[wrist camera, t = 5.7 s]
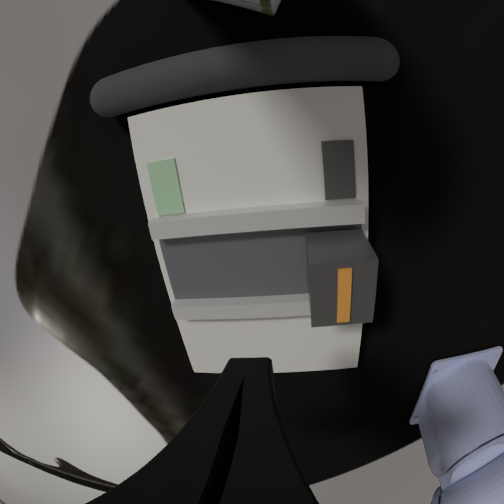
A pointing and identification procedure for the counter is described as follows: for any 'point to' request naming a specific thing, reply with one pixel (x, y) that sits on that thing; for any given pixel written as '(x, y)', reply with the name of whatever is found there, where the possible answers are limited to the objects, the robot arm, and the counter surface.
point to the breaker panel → (253, 218)
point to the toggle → (340, 277)
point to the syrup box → (255, 5)
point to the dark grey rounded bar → (245, 70)
